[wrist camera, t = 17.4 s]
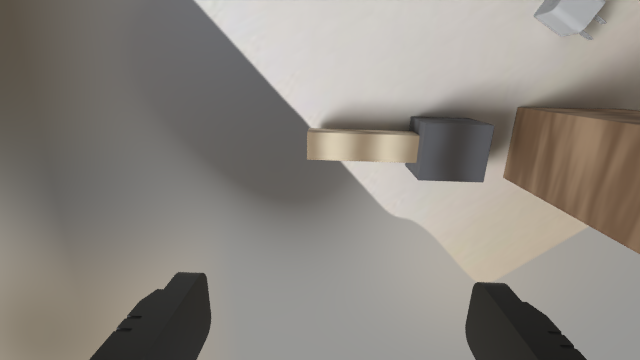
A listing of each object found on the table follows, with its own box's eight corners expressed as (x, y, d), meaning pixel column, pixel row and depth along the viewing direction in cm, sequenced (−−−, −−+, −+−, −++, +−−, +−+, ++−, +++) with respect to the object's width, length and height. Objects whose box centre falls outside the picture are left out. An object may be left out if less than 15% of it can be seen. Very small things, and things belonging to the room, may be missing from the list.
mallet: (309, 162, 45) (305, 176, 39) (310, 113, 43) (306, 119, 37) (460, 167, 45) (483, 182, 38) (468, 118, 43) (494, 125, 36)
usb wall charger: (554, -14, 38) (579, -25, 34) (596, 18, 39) (625, 12, 35) (531, 17, 39) (553, 11, 35) (572, 48, 40) (598, 45, 36)
